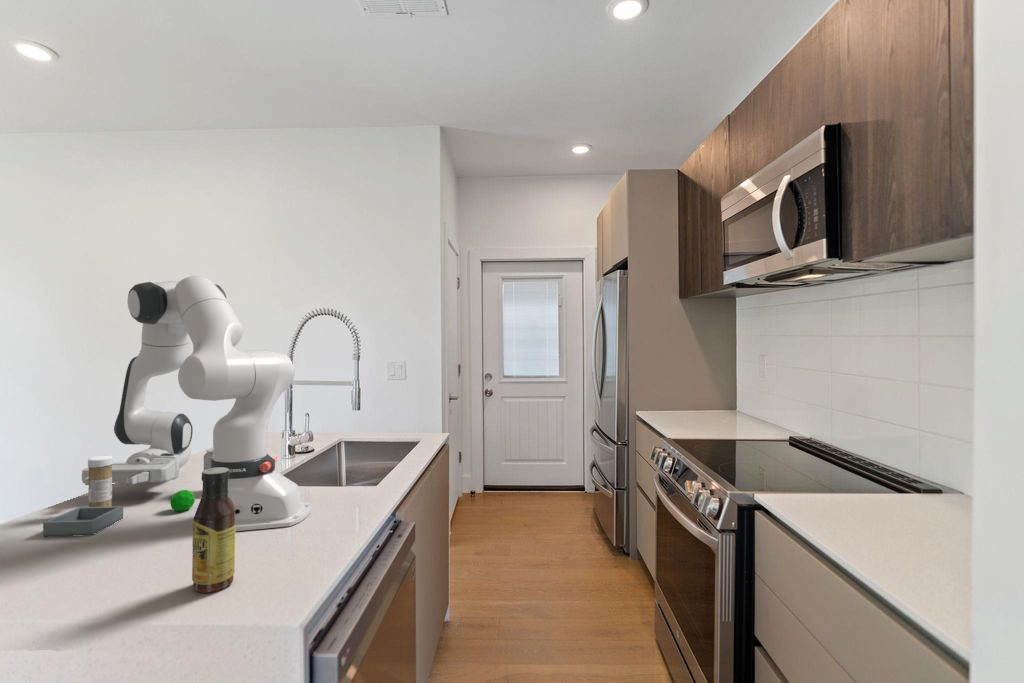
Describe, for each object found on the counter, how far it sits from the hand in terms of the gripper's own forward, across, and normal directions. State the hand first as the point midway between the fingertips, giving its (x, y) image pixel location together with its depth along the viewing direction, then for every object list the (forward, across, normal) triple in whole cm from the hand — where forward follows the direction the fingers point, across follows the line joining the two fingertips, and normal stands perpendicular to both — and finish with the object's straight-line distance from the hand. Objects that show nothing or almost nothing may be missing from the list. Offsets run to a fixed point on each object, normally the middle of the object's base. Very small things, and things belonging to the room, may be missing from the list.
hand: (108, 481), depth 121 cm
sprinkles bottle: (+3, 0, +7) cm, 8 cm away
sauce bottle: (+40, +44, +7) cm, 60 cm away
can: (-12, +20, +7) cm, 24 cm away
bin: (+12, +3, +7) cm, 14 cm away
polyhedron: (+2, +18, +7) cm, 19 cm away
